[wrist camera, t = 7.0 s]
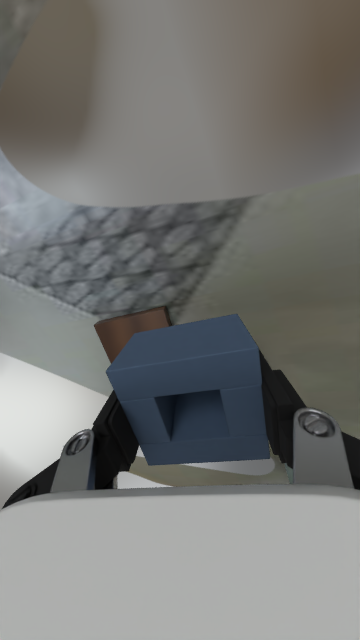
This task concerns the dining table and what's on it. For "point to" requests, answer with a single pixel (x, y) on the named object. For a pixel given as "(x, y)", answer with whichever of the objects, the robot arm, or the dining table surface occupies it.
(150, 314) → the wooden peg board
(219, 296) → the dining table surface
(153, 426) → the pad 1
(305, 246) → the dining table surface
